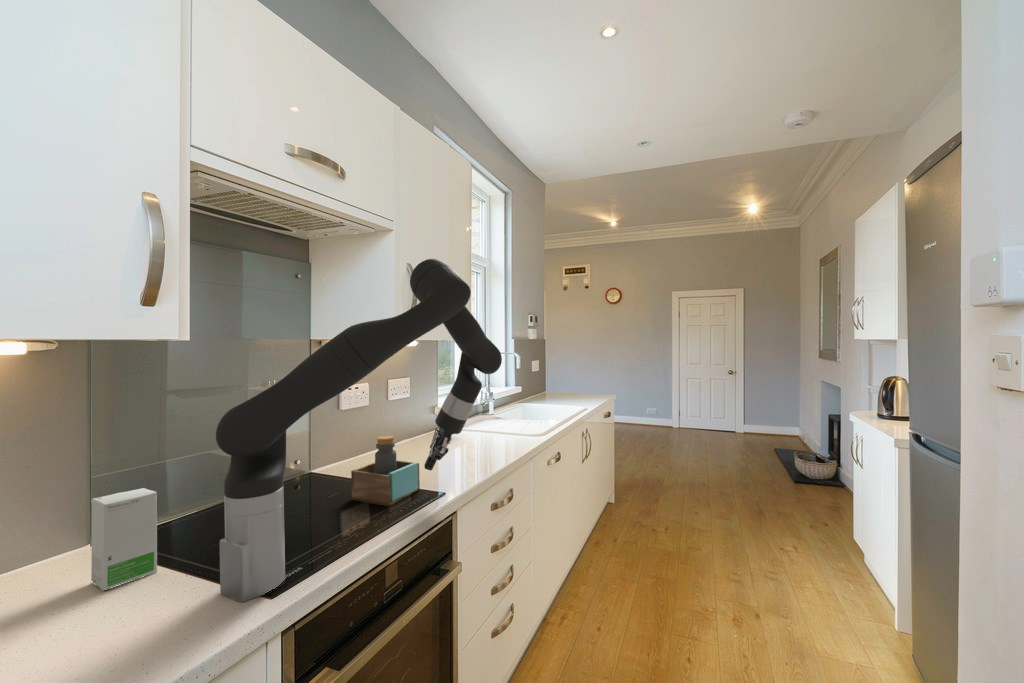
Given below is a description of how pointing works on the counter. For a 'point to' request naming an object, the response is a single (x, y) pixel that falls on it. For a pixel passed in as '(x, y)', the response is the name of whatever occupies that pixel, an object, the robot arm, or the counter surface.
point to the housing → (375, 485)
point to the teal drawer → (403, 481)
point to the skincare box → (123, 537)
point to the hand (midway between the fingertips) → (427, 468)
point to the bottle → (385, 455)
